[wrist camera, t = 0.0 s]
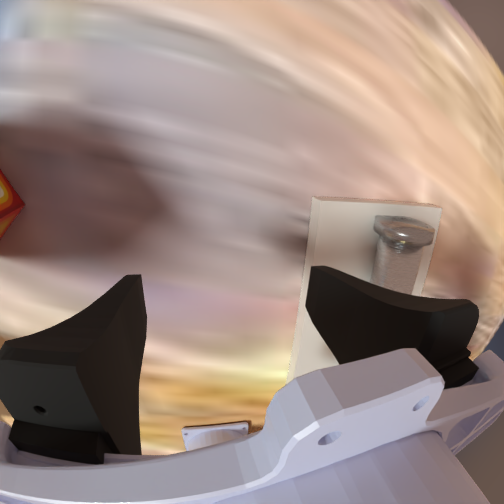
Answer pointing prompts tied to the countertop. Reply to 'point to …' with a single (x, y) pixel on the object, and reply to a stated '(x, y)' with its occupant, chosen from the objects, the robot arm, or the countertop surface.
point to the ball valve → (399, 251)
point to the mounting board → (347, 261)
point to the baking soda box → (8, 204)
